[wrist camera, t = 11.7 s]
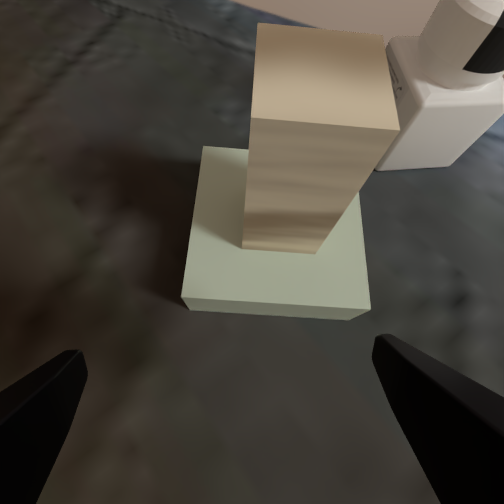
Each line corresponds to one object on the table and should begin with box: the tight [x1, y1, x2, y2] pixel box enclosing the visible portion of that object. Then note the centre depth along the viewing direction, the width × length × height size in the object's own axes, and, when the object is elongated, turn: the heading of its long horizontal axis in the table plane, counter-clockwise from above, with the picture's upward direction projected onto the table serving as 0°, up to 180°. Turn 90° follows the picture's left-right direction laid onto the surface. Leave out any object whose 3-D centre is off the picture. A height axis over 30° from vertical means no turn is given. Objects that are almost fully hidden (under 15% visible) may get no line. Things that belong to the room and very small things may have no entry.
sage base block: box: [181, 146, 371, 320], centre depth 23 cm, size 12×12×4 cm
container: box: [375, 0, 504, 171], centre depth 24 cm, size 8×8×13 cm
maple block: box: [242, 23, 400, 254], centre depth 16 cm, size 5×5×11 cm
